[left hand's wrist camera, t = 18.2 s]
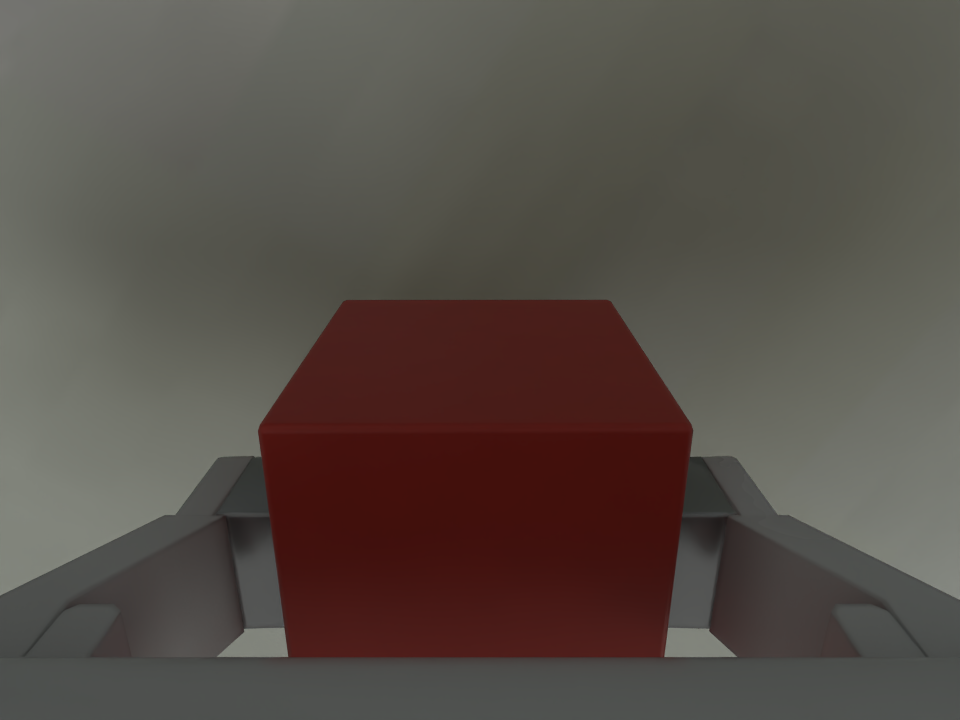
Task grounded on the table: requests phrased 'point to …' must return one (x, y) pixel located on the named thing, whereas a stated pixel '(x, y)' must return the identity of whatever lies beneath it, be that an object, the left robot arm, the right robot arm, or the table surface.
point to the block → (476, 484)
